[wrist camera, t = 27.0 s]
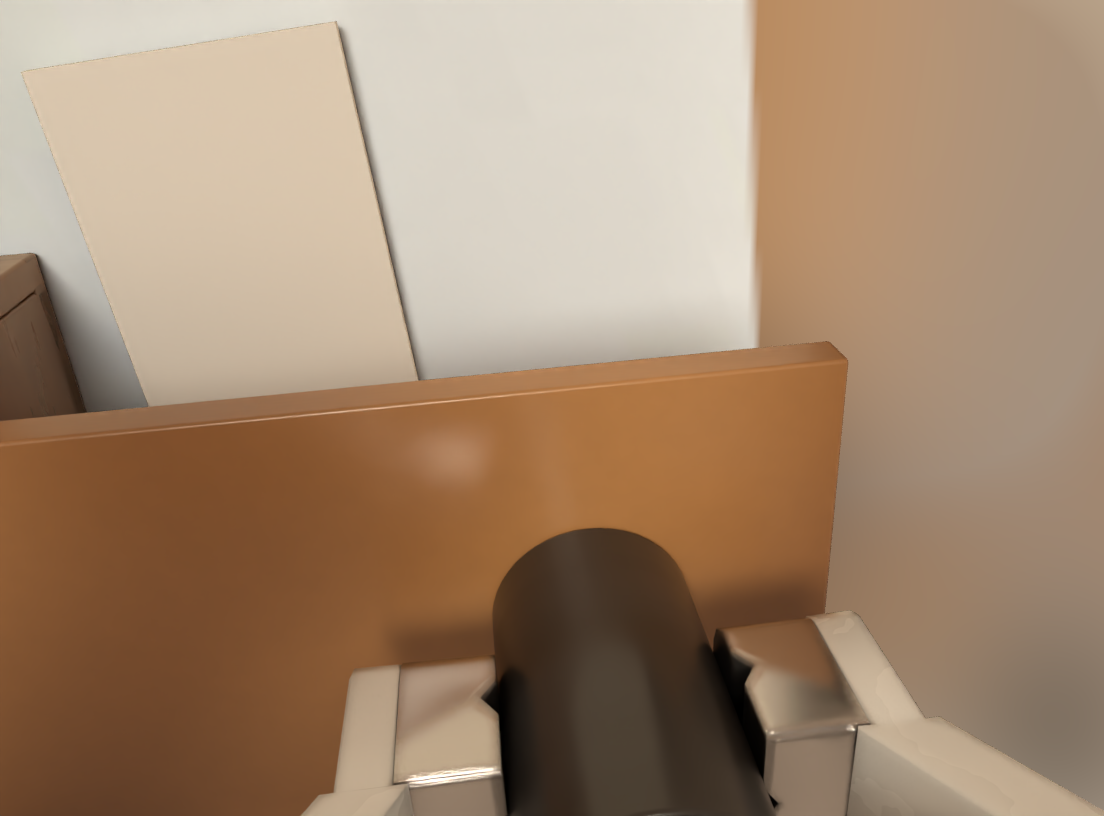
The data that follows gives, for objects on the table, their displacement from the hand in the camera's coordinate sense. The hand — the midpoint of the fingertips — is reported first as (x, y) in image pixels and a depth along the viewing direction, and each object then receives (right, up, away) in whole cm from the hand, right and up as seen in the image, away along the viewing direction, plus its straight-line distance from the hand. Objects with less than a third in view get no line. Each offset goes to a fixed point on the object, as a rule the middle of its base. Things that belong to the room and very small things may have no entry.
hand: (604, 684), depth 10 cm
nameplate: (-5, 0, +10) cm, 11 cm away
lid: (-6, 0, +1) cm, 6 cm away
